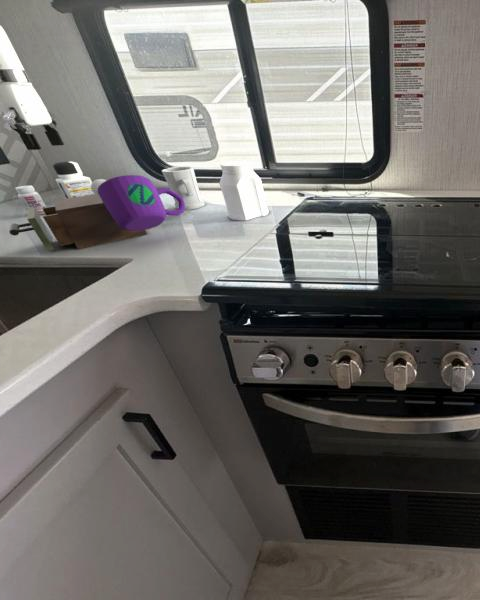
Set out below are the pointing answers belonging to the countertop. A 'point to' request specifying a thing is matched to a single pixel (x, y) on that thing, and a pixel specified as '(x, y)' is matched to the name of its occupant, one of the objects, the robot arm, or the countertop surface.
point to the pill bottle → (30, 198)
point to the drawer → (41, 229)
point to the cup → (184, 186)
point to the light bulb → (96, 185)
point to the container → (72, 180)
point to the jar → (242, 191)
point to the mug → (136, 202)
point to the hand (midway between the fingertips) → (47, 147)
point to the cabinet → (90, 221)
